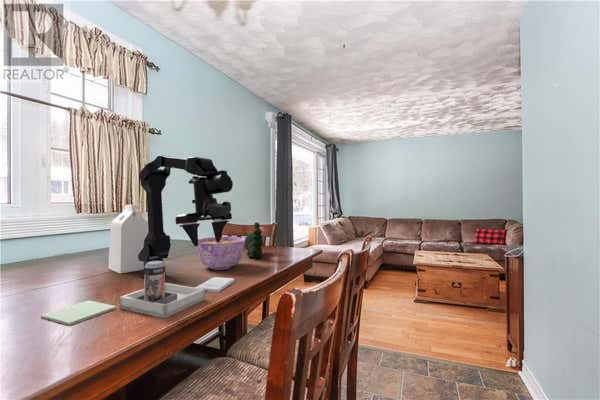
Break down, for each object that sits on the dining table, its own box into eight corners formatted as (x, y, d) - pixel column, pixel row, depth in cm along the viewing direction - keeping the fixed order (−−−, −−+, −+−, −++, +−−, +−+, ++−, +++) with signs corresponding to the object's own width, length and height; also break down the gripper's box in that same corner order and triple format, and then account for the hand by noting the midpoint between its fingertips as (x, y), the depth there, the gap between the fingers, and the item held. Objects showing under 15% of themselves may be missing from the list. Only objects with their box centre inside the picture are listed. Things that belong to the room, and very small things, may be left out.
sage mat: (40, 317, 70) (40, 315, 70) (89, 302, 80) (89, 300, 80) (69, 325, 66) (69, 322, 66) (116, 308, 76) (116, 306, 76)
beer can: (144, 312, 74) (144, 265, 74) (144, 306, 78) (144, 261, 78) (165, 309, 76) (165, 263, 76) (164, 303, 80) (164, 259, 80)
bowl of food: (196, 275, 108) (196, 244, 108) (194, 264, 127) (194, 237, 127) (249, 271, 115) (249, 242, 115) (240, 261, 134) (241, 235, 134)
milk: (151, 268, 120) (151, 204, 120) (120, 273, 111) (120, 205, 111) (138, 263, 127) (138, 204, 127) (108, 268, 118) (108, 204, 118)
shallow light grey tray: (119, 308, 76) (119, 296, 76) (163, 292, 89) (163, 282, 89) (164, 318, 70) (165, 305, 70) (204, 299, 83) (204, 289, 83)
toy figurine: (267, 264, 134) (260, 250, 158) (268, 224, 132) (261, 216, 156) (246, 266, 132) (242, 251, 156) (247, 224, 130) (243, 216, 154)
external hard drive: (234, 283, 102) (217, 294, 90) (213, 281, 103) (193, 292, 91) (234, 278, 102) (217, 288, 90) (213, 277, 103) (193, 287, 91)
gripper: (198, 192, 82) (202, 247, 81) (242, 193, 99) (246, 239, 98) (172, 197, 88) (176, 249, 87) (218, 197, 104) (221, 241, 103)
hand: (207, 244), depth 93 cm, fingers open, 9 cm apart
